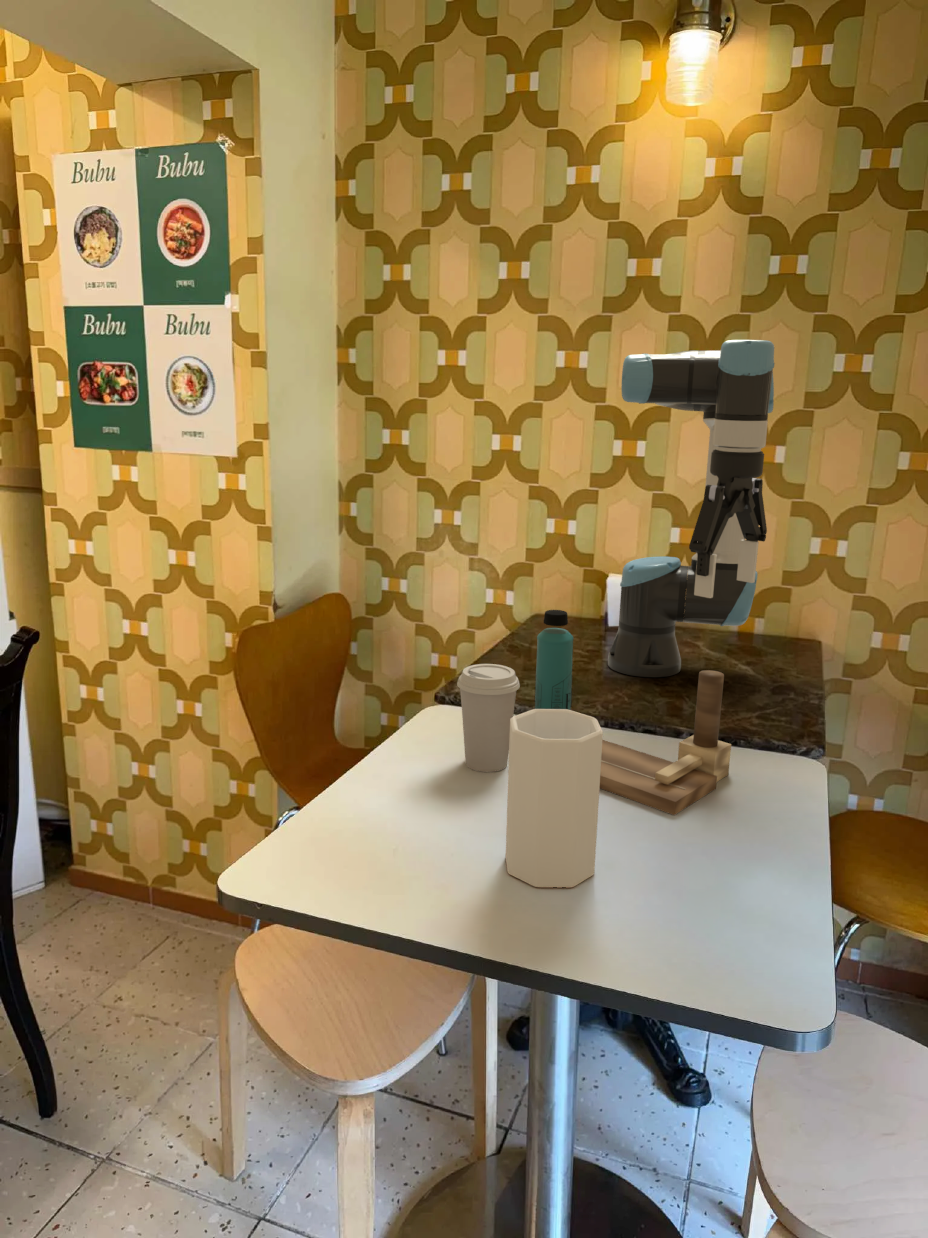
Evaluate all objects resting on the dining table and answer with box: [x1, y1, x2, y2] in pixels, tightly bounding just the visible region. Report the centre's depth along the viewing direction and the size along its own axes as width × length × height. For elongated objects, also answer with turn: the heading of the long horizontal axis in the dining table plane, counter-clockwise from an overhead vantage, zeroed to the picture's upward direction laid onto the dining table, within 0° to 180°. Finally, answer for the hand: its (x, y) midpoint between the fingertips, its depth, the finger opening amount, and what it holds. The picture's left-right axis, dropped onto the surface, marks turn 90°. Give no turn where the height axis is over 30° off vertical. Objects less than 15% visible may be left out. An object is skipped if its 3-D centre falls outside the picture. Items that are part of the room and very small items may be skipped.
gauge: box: [655, 669, 732, 785], centre depth 132 cm, size 15×6×16 cm, turn 137°
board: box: [599, 739, 718, 816], centre depth 136 cm, size 12×26×2 cm, turn 47°
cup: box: [505, 708, 604, 889], centre depth 108 cm, size 11×11×18 cm
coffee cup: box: [456, 663, 521, 773], centre depth 138 cm, size 10×10×15 cm
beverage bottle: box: [533, 609, 574, 710], centre depth 156 cm, size 6×7×20 cm
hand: (725, 588), depth 139 cm, fingers open, 13 cm apart
